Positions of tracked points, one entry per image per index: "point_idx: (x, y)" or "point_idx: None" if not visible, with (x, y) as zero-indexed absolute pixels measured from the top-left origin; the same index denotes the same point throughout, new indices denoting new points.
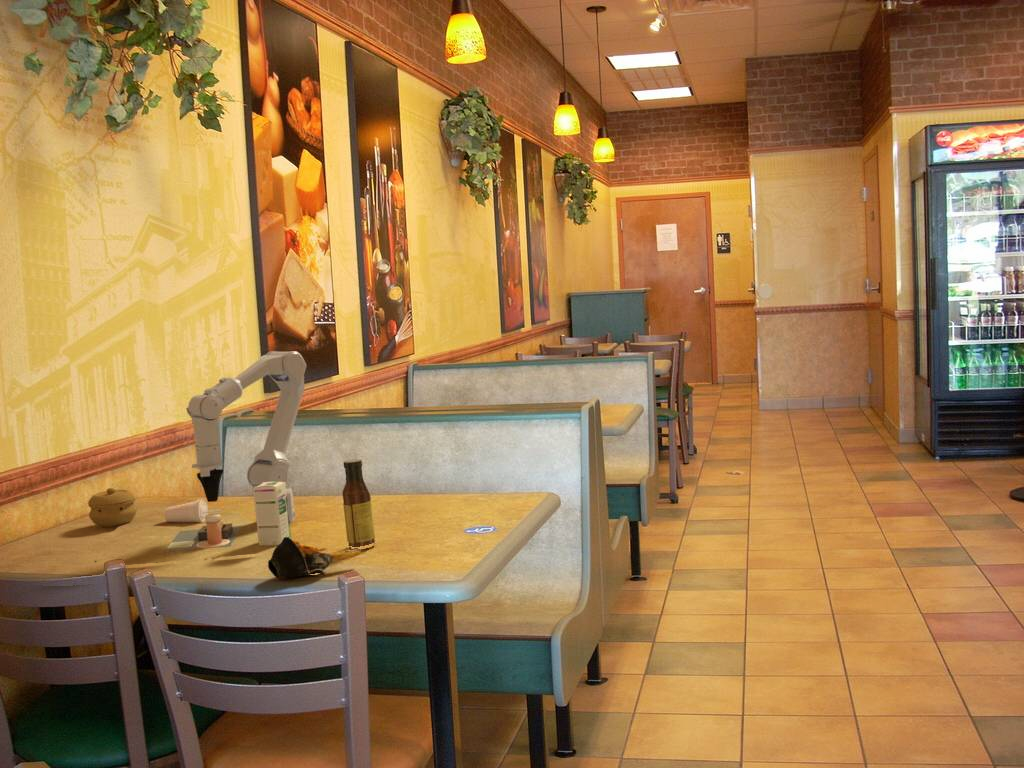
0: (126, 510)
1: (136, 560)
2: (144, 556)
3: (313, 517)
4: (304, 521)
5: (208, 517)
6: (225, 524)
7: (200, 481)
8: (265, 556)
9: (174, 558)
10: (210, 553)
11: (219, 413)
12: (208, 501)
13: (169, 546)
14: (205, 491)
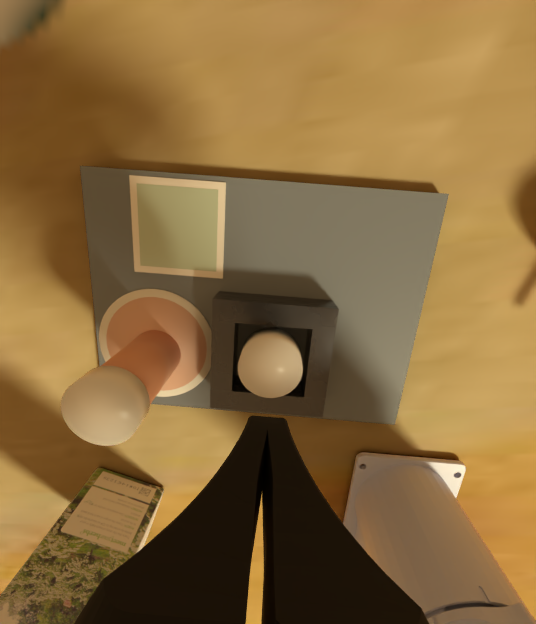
0: None
1: (32, 53)
2: (92, 81)
3: None
4: None
5: (64, 395)
6: (316, 395)
7: (150, 541)
8: (7, 478)
9: (34, 219)
10: (76, 337)
11: None
12: (248, 420)
13: (158, 181)
14: (226, 465)
